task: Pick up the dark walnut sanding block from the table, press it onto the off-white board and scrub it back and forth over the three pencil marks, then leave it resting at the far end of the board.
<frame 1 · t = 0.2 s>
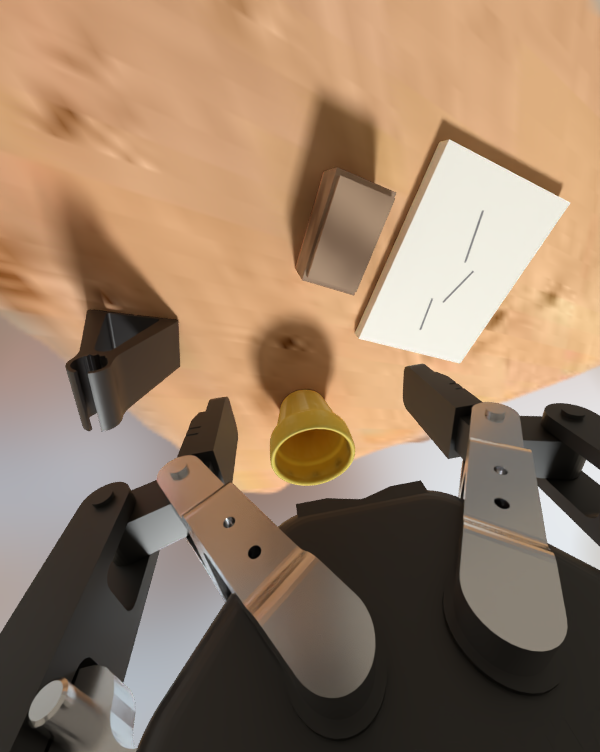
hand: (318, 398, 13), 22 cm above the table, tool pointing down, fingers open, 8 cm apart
plant pot: (301, 406, 42), on the table
sanding block: (332, 231, 29), on the table
phone stand: (139, 338, 33), on the table
board: (447, 272, 33), on the table
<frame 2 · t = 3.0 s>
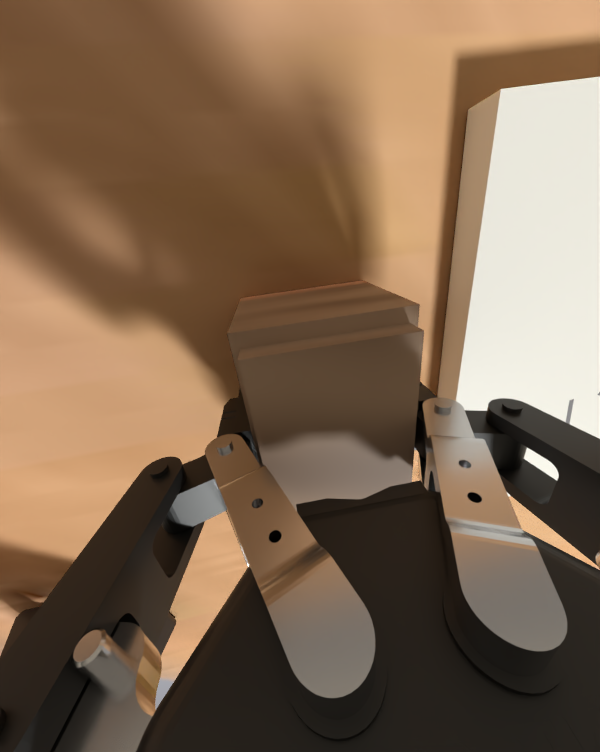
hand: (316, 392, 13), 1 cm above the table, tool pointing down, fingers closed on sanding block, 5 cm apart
sanding block: (312, 378, 15), on the table, touching gripper
phone stand: (104, 611, 22), on the table
board: (583, 333, 15), on the table
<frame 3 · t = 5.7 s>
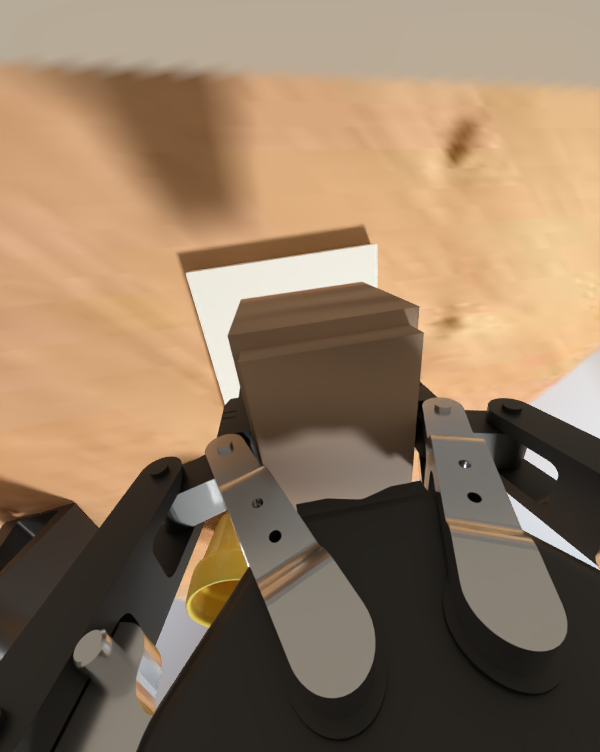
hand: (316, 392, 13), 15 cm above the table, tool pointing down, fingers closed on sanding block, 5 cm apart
plant pot: (241, 523, 39), on the table
sanding block: (312, 379, 15), point 14 cm above the table, touching gripper
phone stand: (57, 526, 35), on the table
board: (297, 360, 29), on the table
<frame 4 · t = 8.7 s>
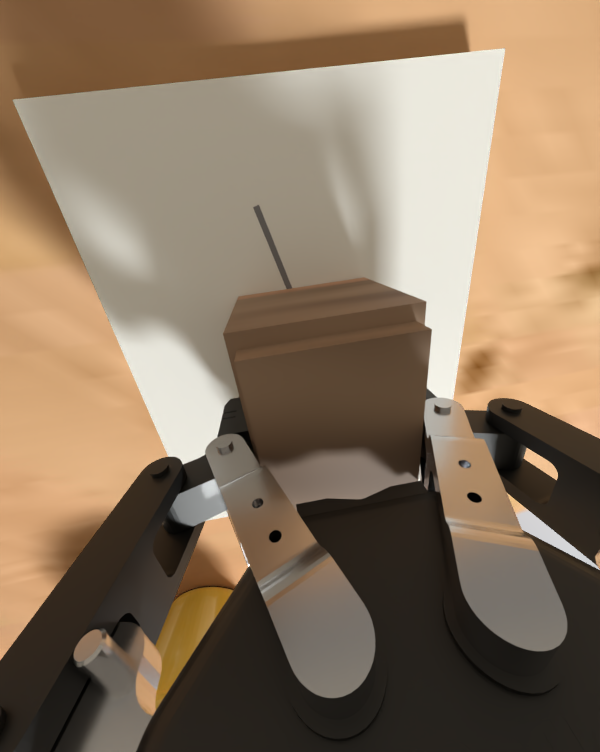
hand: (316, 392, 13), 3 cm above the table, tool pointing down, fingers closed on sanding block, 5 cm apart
plant pot: (209, 605, 25), on the table
sanding block: (313, 378, 14), point 2 cm above the table, touching gripper
board: (300, 345, 15), on the table
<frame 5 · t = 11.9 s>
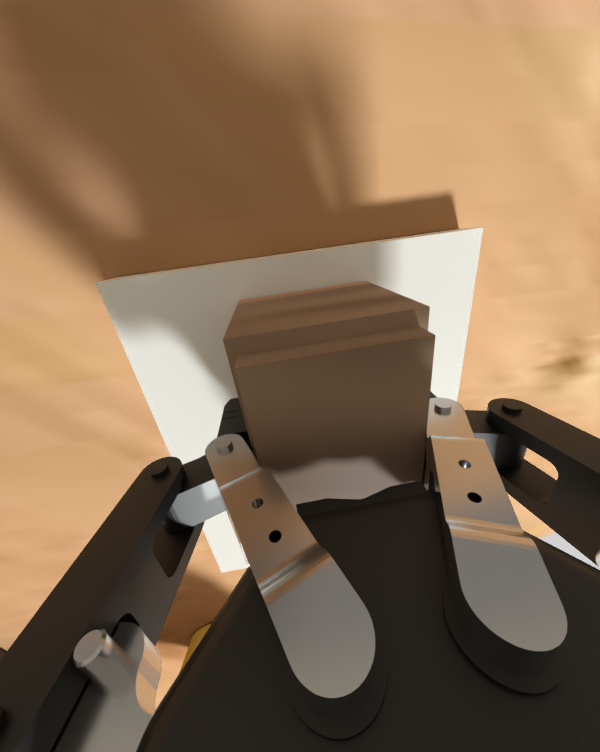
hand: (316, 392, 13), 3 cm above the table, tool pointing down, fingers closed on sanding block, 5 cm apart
plant pot: (226, 634, 27), on the table
sanding block: (314, 382, 14), point 2 cm above the table, touching gripper
board: (314, 427, 17), on the table
when the fingers open (3 cm above the table, at t = 14.6 s): sanding block stays where it is, resting on board.
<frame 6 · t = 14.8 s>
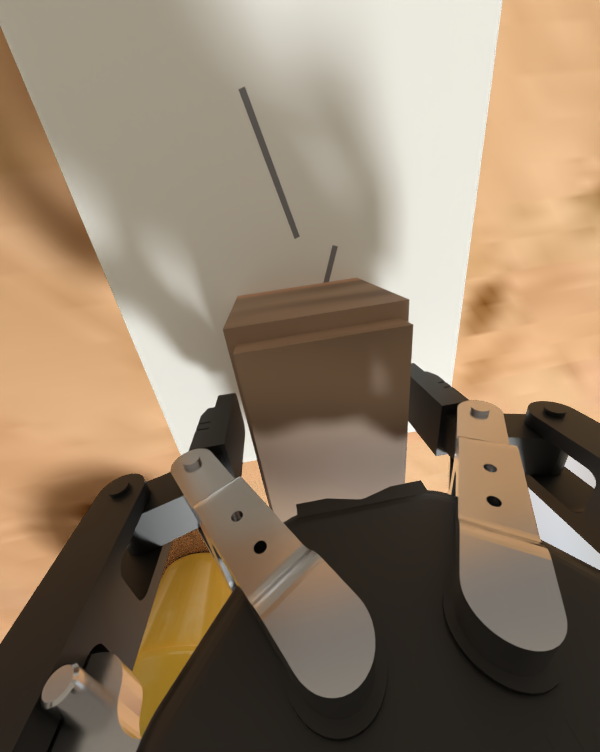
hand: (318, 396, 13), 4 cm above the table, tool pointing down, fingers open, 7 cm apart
plant pot: (204, 573, 24), on the table
sanding block: (309, 374, 15), point 2 cm above the table, touching board
board: (295, 273, 14), on the table
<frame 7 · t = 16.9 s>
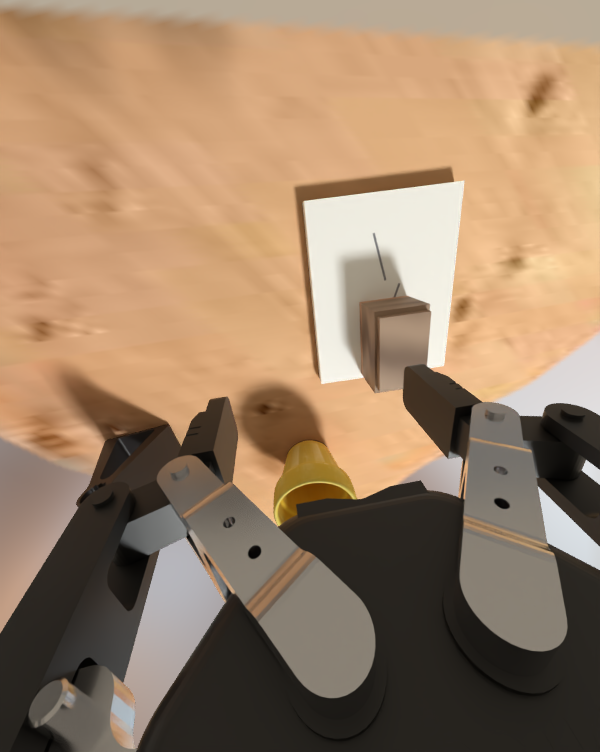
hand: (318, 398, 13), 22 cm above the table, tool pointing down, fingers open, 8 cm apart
plant pot: (307, 456, 43), on the table
sanding block: (382, 336, 34), point 2 cm above the table, touching board
phone stand: (148, 447, 40), on the table
board: (379, 293, 33), on the table
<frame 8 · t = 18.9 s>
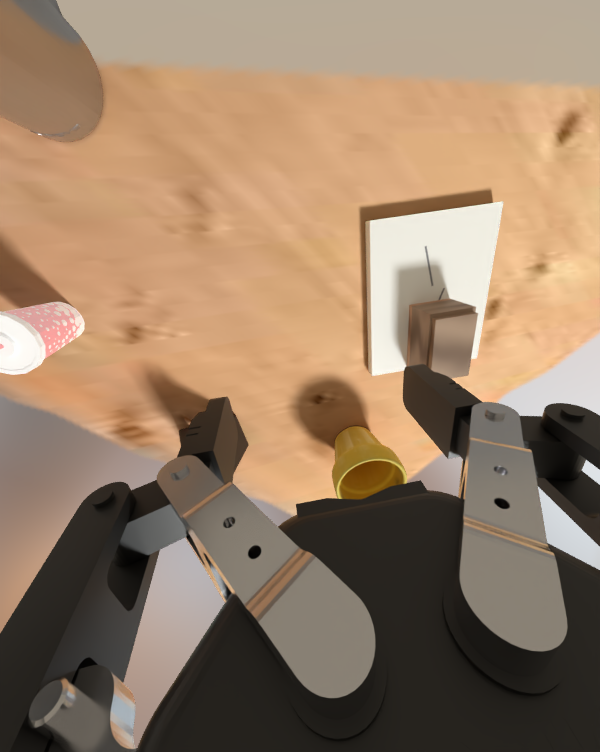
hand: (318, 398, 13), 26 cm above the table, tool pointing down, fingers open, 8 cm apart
plant pot: (352, 441, 48), on the table
sanding block: (427, 334, 39), point 2 cm above the table, touching board
beverage cup: (64, 320, 34), on the table
phone stand: (215, 436, 45), on the table
board: (424, 296, 38), on the table
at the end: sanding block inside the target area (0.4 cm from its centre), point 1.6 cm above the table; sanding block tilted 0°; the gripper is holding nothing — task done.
